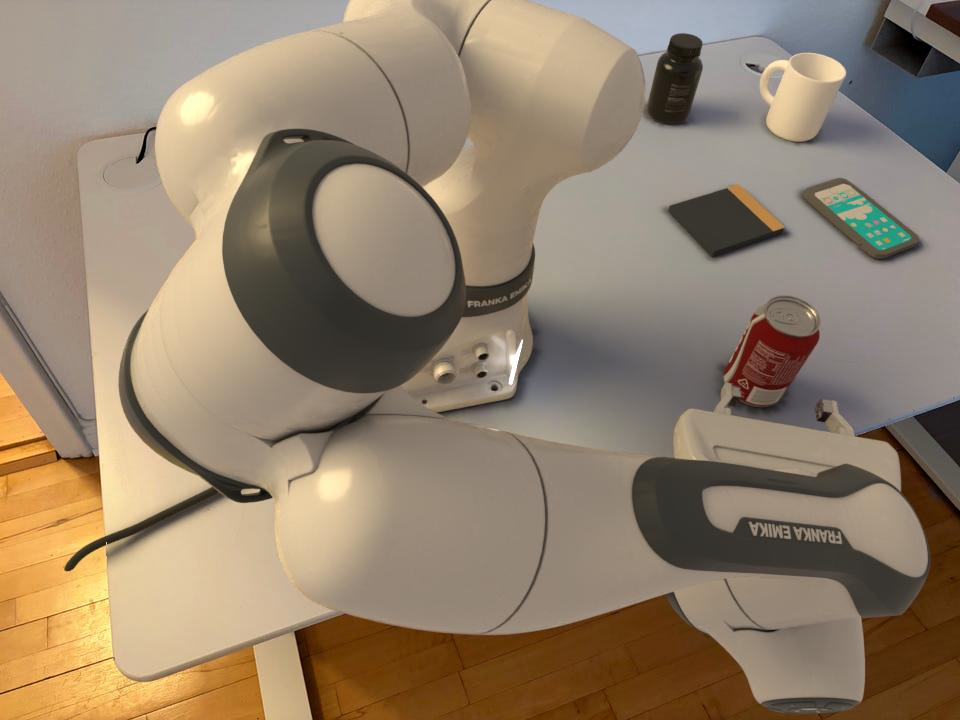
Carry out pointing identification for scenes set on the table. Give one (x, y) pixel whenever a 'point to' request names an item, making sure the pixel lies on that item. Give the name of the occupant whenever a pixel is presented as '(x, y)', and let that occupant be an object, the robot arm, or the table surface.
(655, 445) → the table surface
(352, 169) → the robot arm
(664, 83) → the supplement bottle
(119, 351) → the table surface
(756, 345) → the soda can
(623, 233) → the table surface
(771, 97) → the mug
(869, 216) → the smartphone
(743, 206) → the notebook
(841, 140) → the table surface
